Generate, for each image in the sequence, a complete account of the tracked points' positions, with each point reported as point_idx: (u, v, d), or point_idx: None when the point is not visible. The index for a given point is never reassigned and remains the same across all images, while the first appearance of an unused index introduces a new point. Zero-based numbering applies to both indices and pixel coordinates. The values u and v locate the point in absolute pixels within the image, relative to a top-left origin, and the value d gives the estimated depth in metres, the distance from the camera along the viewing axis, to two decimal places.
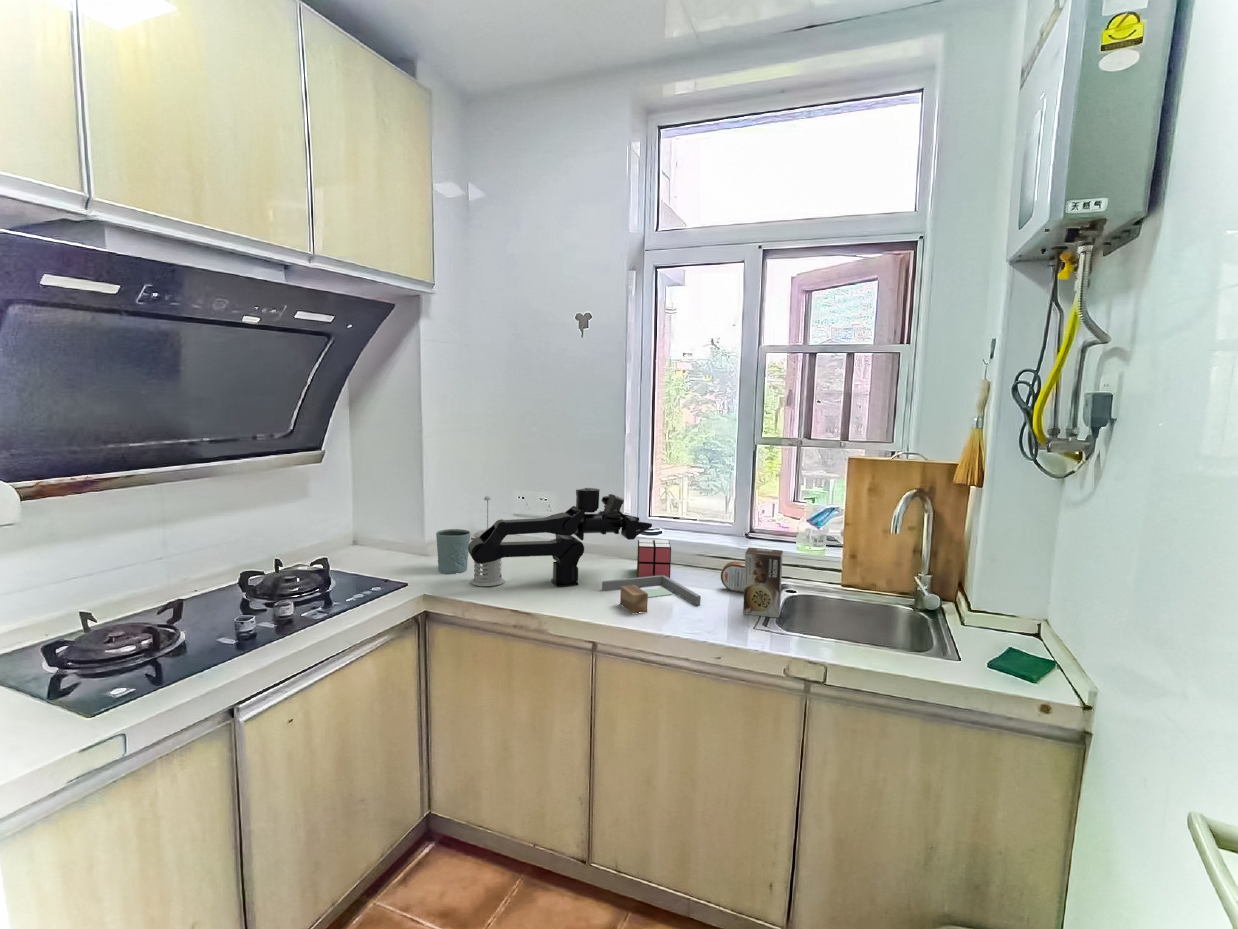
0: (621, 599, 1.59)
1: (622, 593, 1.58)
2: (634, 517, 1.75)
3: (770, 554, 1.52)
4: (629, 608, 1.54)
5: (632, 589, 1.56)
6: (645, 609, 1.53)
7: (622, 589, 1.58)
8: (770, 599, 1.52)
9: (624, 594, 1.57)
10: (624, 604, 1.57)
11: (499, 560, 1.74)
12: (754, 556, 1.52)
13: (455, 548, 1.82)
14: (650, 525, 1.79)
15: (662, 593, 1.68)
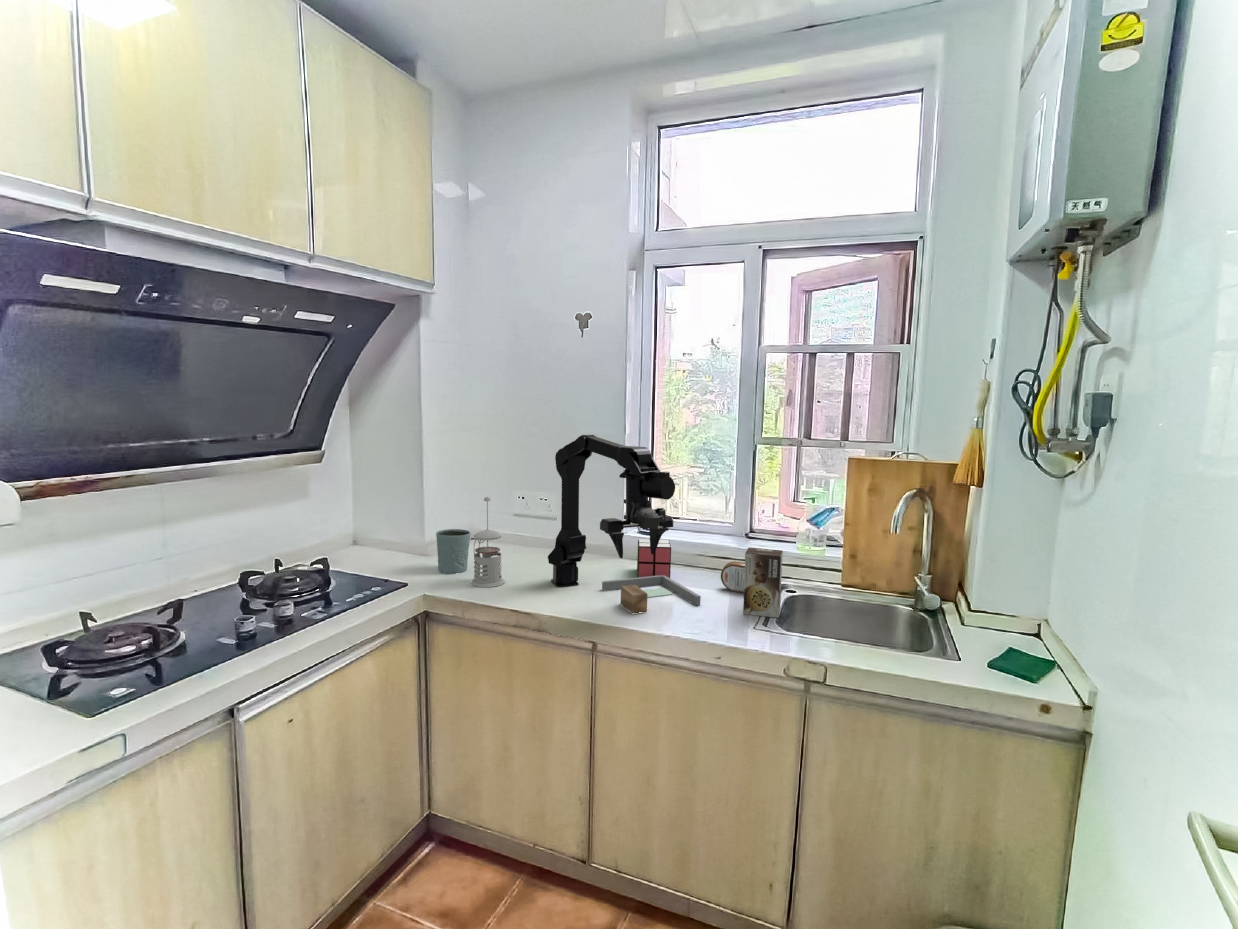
0: (621, 599, 1.59)
1: (622, 593, 1.58)
2: (617, 534, 1.50)
3: (770, 554, 1.52)
4: (629, 608, 1.54)
5: (632, 589, 1.56)
6: (645, 609, 1.53)
7: (622, 589, 1.58)
8: (770, 599, 1.52)
9: (624, 594, 1.57)
10: (624, 604, 1.57)
11: (499, 561, 1.74)
12: (753, 556, 1.52)
13: (455, 548, 1.82)
14: (620, 556, 1.54)
15: (662, 593, 1.68)
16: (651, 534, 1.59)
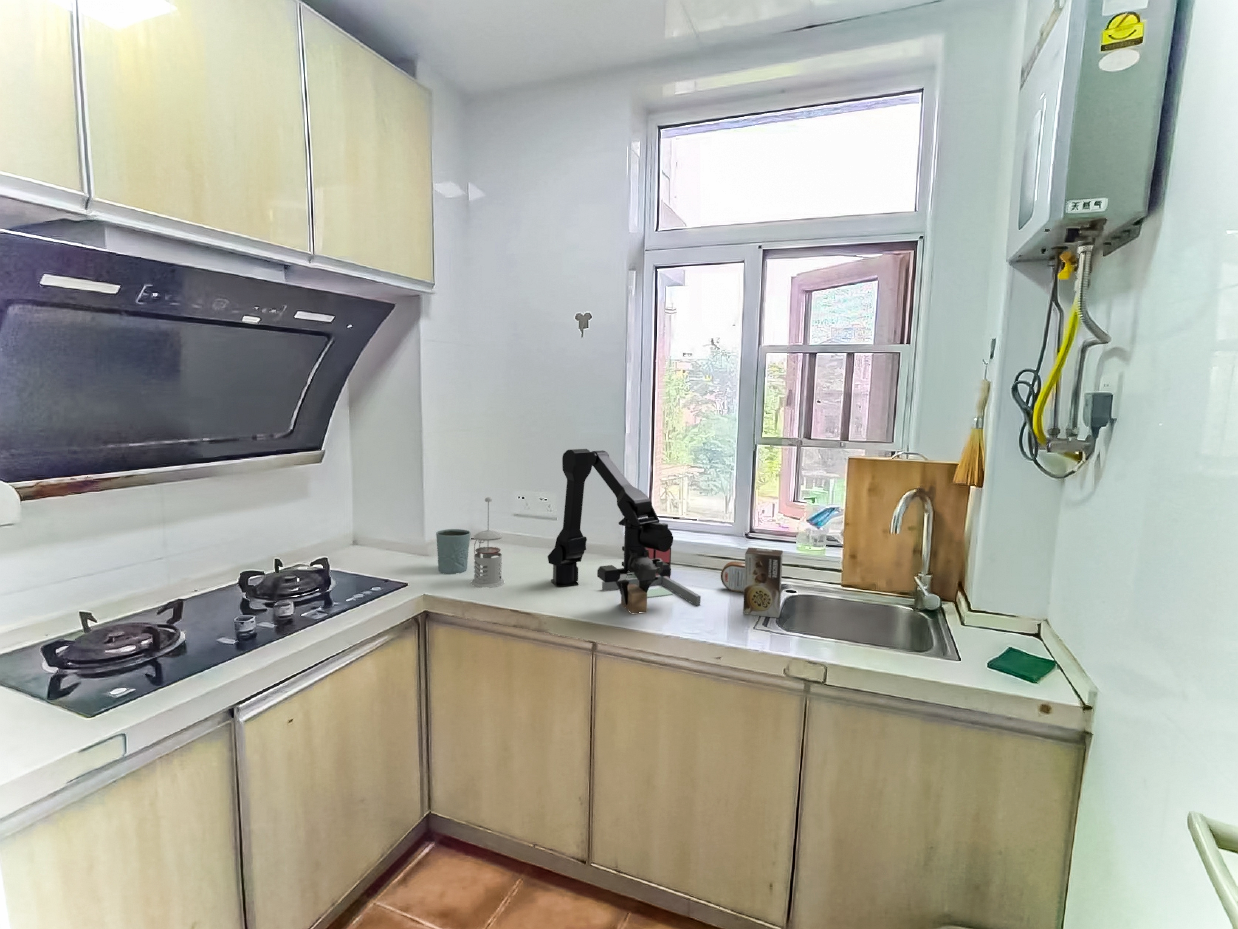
0: None
1: None
2: (622, 582, 1.51)
3: (770, 554, 1.52)
4: (628, 607, 1.54)
5: (632, 589, 1.56)
6: (644, 609, 1.53)
7: None
8: (770, 599, 1.52)
9: None
10: None
11: (499, 561, 1.73)
12: (753, 556, 1.52)
13: (455, 548, 1.82)
14: (624, 602, 1.55)
15: (662, 593, 1.68)
16: (640, 582, 1.58)
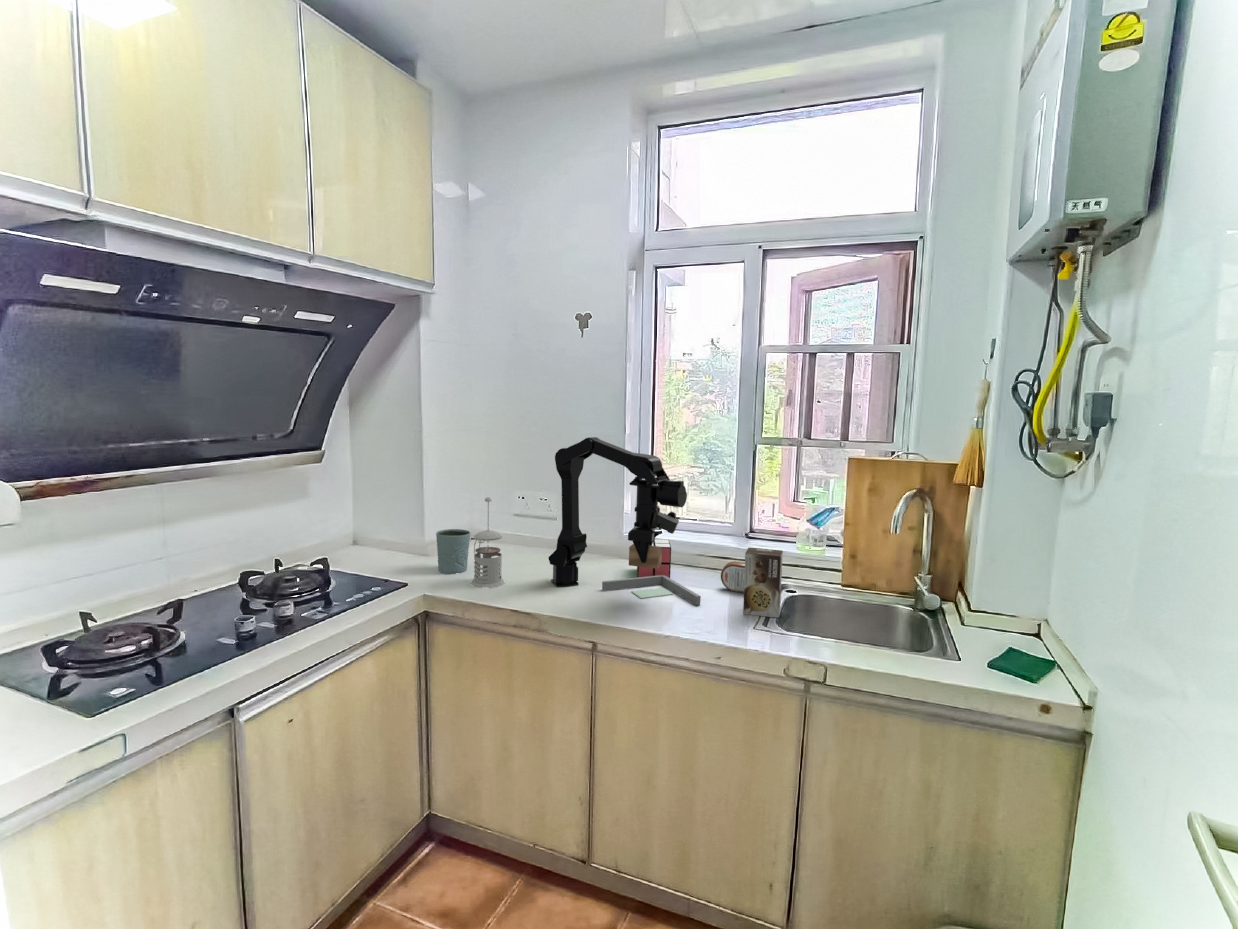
0: (631, 559, 1.61)
1: (633, 553, 1.61)
2: None
3: (770, 554, 1.52)
4: (649, 564, 1.60)
5: None
6: (660, 562, 1.62)
7: (633, 549, 1.61)
8: (770, 599, 1.52)
9: None
10: (638, 563, 1.61)
11: (499, 561, 1.73)
12: (754, 556, 1.52)
13: (455, 548, 1.82)
14: (643, 560, 1.60)
15: (662, 593, 1.68)
16: None
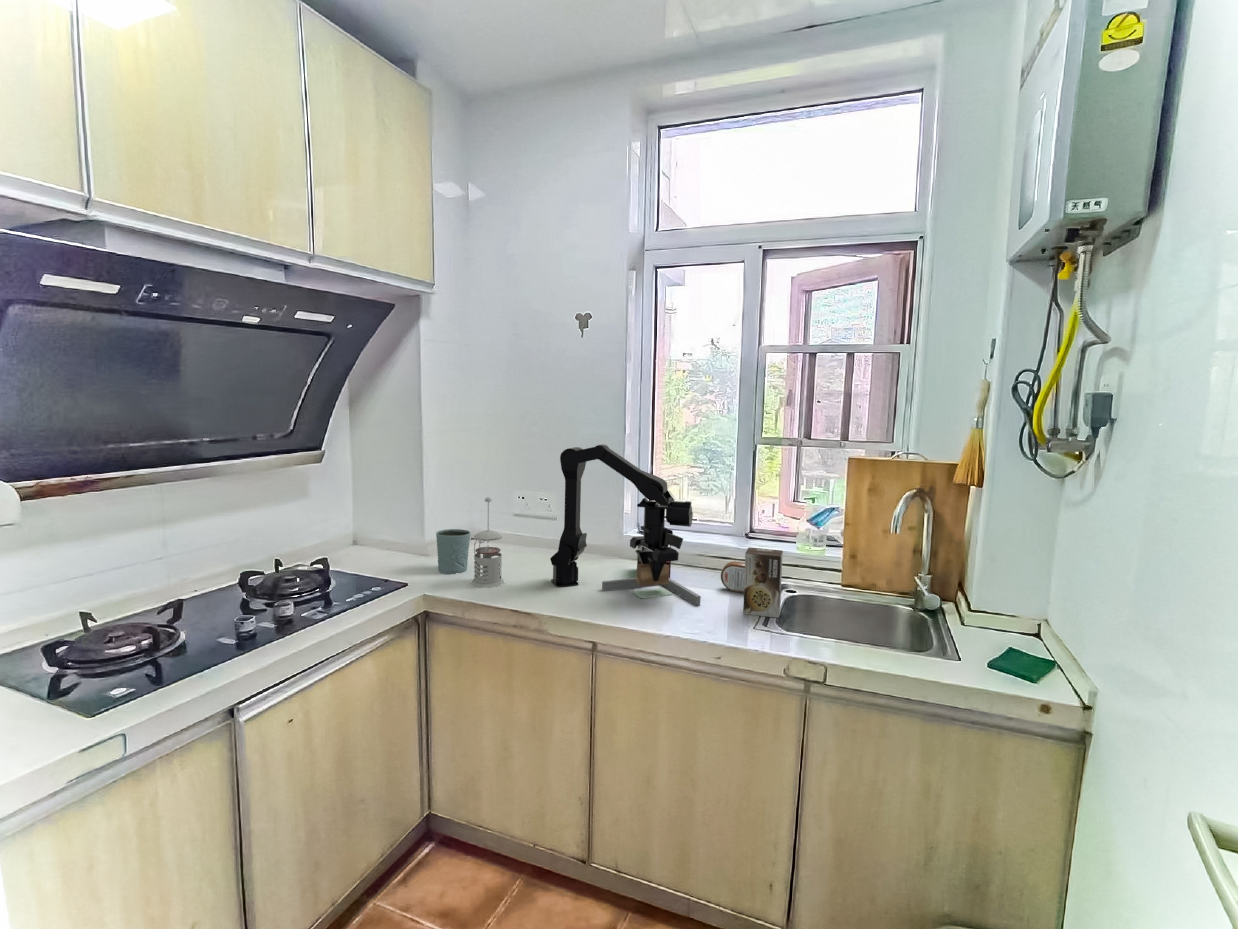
0: (644, 580, 1.65)
1: (646, 573, 1.65)
2: None
3: (770, 554, 1.52)
4: (660, 581, 1.67)
5: None
6: None
7: (646, 569, 1.65)
8: (770, 599, 1.52)
9: (651, 573, 1.66)
10: (651, 582, 1.66)
11: (499, 561, 1.73)
12: (754, 556, 1.52)
13: (455, 548, 1.82)
14: (656, 579, 1.66)
15: (662, 593, 1.68)
16: (645, 559, 1.70)
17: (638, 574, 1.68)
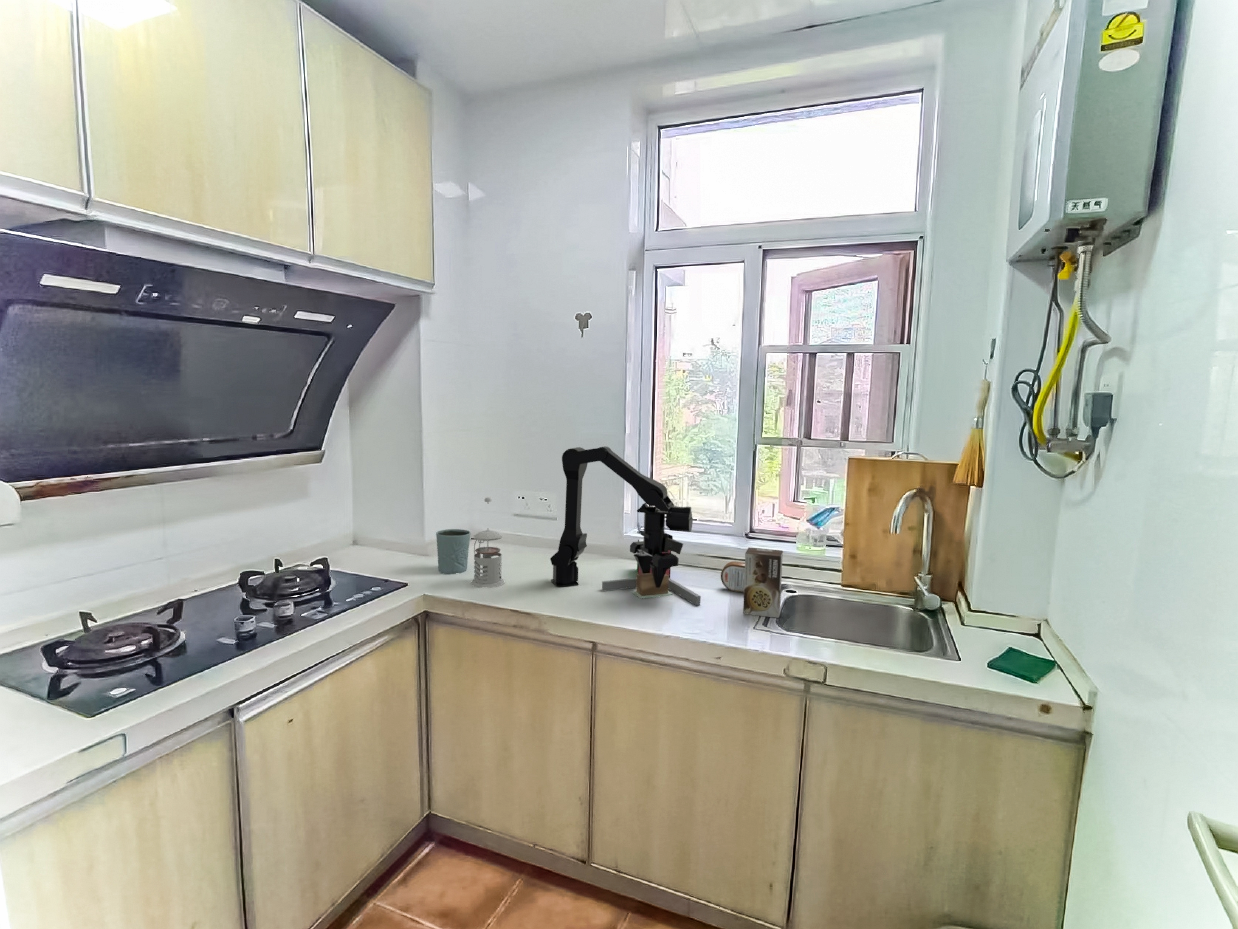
0: (644, 590, 1.66)
1: (646, 583, 1.66)
2: None
3: (770, 554, 1.52)
4: (660, 590, 1.68)
5: (652, 575, 1.68)
6: None
7: (646, 579, 1.65)
8: (770, 599, 1.52)
9: (651, 582, 1.66)
10: (651, 591, 1.66)
11: (499, 561, 1.73)
12: (754, 556, 1.52)
13: (455, 548, 1.82)
14: (658, 585, 1.65)
15: None
16: (643, 563, 1.71)
17: (638, 584, 1.68)
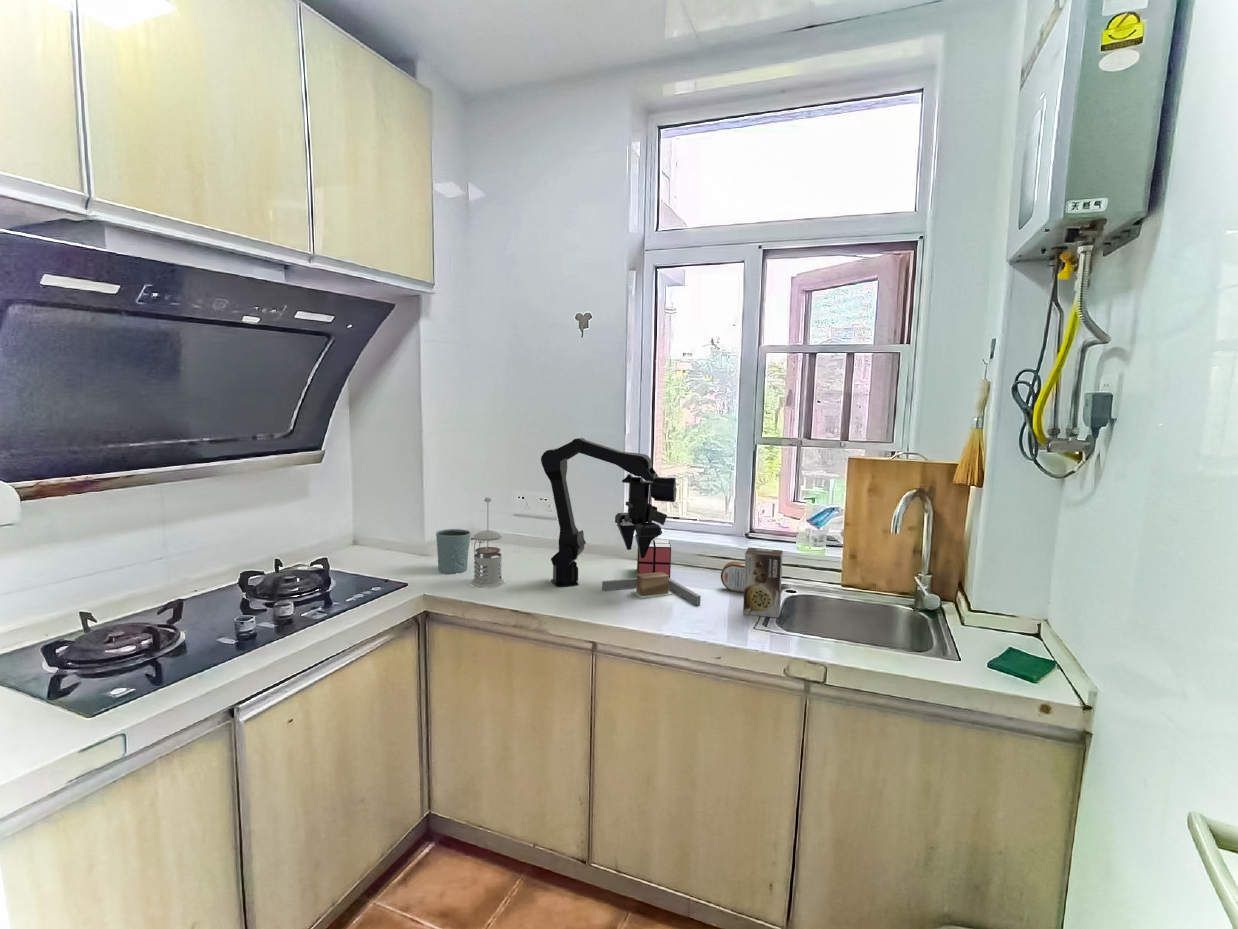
0: (644, 590, 1.66)
1: (646, 583, 1.66)
2: (657, 535, 1.65)
3: (770, 554, 1.52)
4: (660, 590, 1.68)
5: (652, 575, 1.68)
6: None
7: (646, 579, 1.65)
8: (770, 599, 1.52)
9: (651, 582, 1.66)
10: (651, 591, 1.66)
11: (499, 561, 1.73)
12: (753, 556, 1.52)
13: (455, 548, 1.82)
14: (643, 556, 1.66)
15: None
16: (625, 532, 1.74)
17: (638, 584, 1.68)
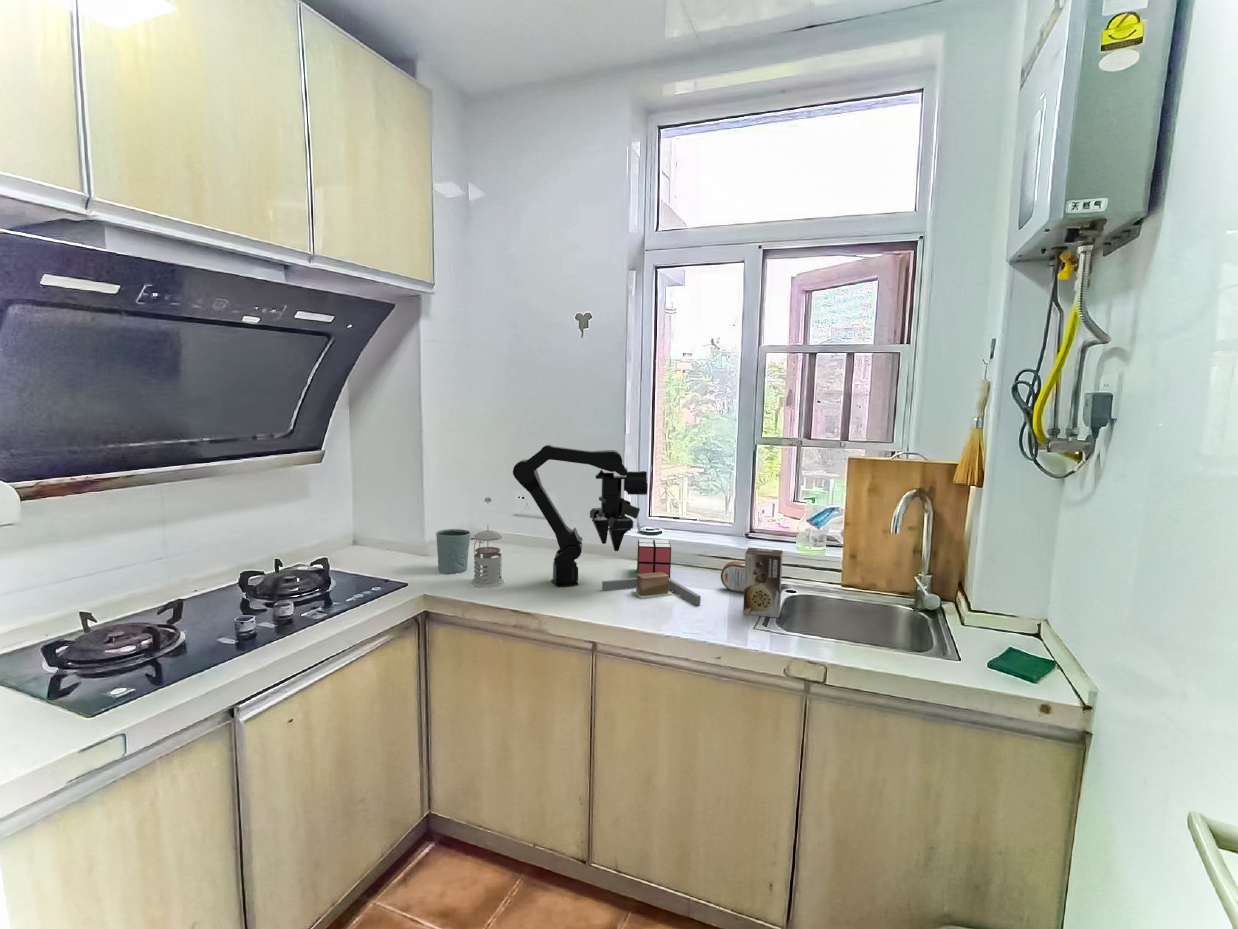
0: (644, 590, 1.66)
1: (646, 583, 1.66)
2: (630, 528, 1.69)
3: (770, 554, 1.52)
4: (660, 590, 1.68)
5: (652, 575, 1.68)
6: None
7: (646, 579, 1.65)
8: (770, 599, 1.52)
9: (651, 582, 1.66)
10: (651, 591, 1.66)
11: (499, 561, 1.73)
12: (754, 556, 1.52)
13: (455, 548, 1.82)
14: (617, 549, 1.71)
15: None
16: (600, 527, 1.79)
17: (638, 584, 1.68)
